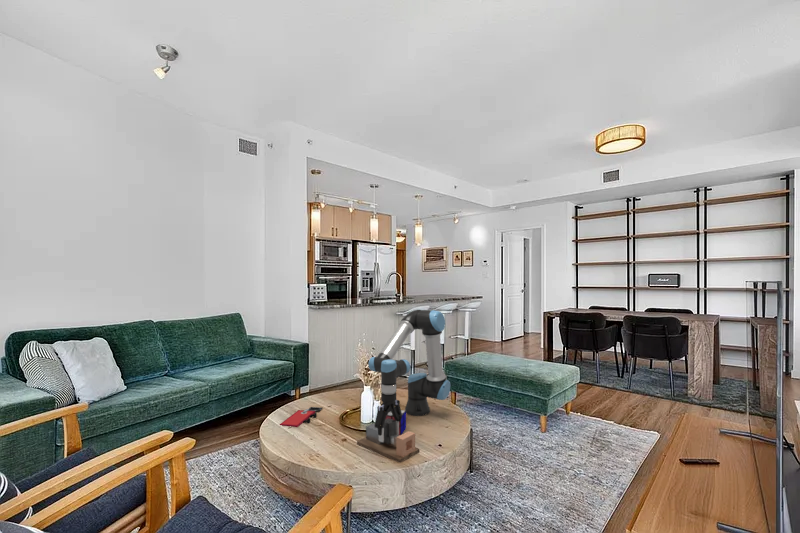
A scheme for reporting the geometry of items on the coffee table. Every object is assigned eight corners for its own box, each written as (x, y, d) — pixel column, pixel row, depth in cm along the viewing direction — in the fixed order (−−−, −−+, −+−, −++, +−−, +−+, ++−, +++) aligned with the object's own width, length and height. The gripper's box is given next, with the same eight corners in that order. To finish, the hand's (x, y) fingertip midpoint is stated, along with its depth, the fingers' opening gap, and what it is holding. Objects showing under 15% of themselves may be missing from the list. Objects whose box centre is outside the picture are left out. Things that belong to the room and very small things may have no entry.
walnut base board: (376, 435, 203) (376, 432, 203) (419, 451, 184) (419, 448, 184) (356, 444, 193) (356, 441, 193) (400, 462, 174) (400, 459, 174)
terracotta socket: (408, 447, 185) (408, 431, 185) (415, 450, 183) (415, 433, 183) (396, 454, 179) (396, 437, 179) (402, 457, 176) (402, 439, 176)
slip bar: (374, 432, 198) (374, 413, 198) (399, 442, 186) (399, 421, 187) (367, 435, 194) (367, 416, 194) (392, 446, 183) (392, 425, 183)
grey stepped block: (373, 436, 199) (373, 423, 199) (387, 441, 192) (387, 428, 192) (366, 439, 195) (366, 426, 195) (380, 445, 188) (380, 431, 188)
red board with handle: (325, 409, 243) (304, 407, 246) (325, 404, 243) (304, 403, 246) (303, 428, 213) (279, 426, 217) (303, 423, 213) (279, 421, 217)
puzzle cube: (400, 436, 202) (400, 416, 203) (383, 433, 206) (382, 414, 206) (406, 428, 212) (406, 410, 212) (389, 426, 215) (389, 408, 215)
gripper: (398, 385, 199) (398, 428, 199) (366, 396, 182) (366, 443, 182) (409, 388, 194) (409, 432, 194) (378, 399, 177) (378, 448, 177)
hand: (388, 437), depth 188 cm, fingers open, 10 cm apart
